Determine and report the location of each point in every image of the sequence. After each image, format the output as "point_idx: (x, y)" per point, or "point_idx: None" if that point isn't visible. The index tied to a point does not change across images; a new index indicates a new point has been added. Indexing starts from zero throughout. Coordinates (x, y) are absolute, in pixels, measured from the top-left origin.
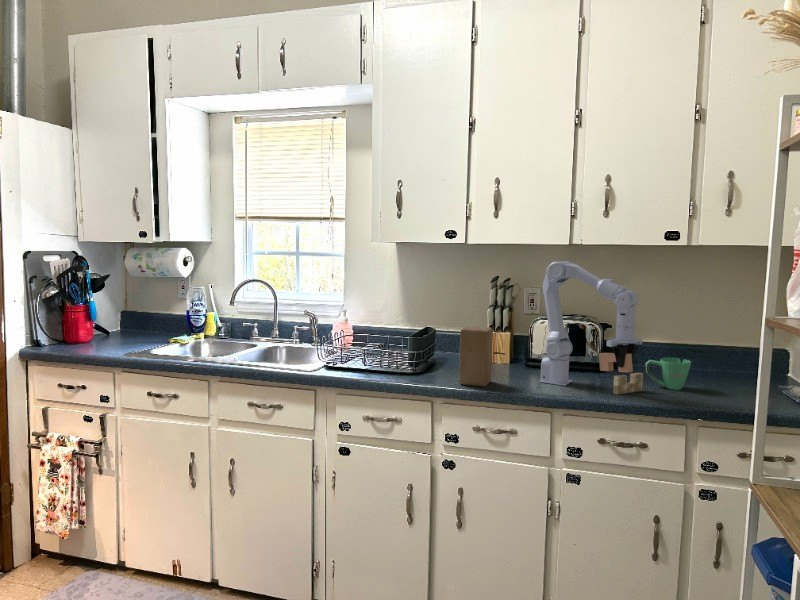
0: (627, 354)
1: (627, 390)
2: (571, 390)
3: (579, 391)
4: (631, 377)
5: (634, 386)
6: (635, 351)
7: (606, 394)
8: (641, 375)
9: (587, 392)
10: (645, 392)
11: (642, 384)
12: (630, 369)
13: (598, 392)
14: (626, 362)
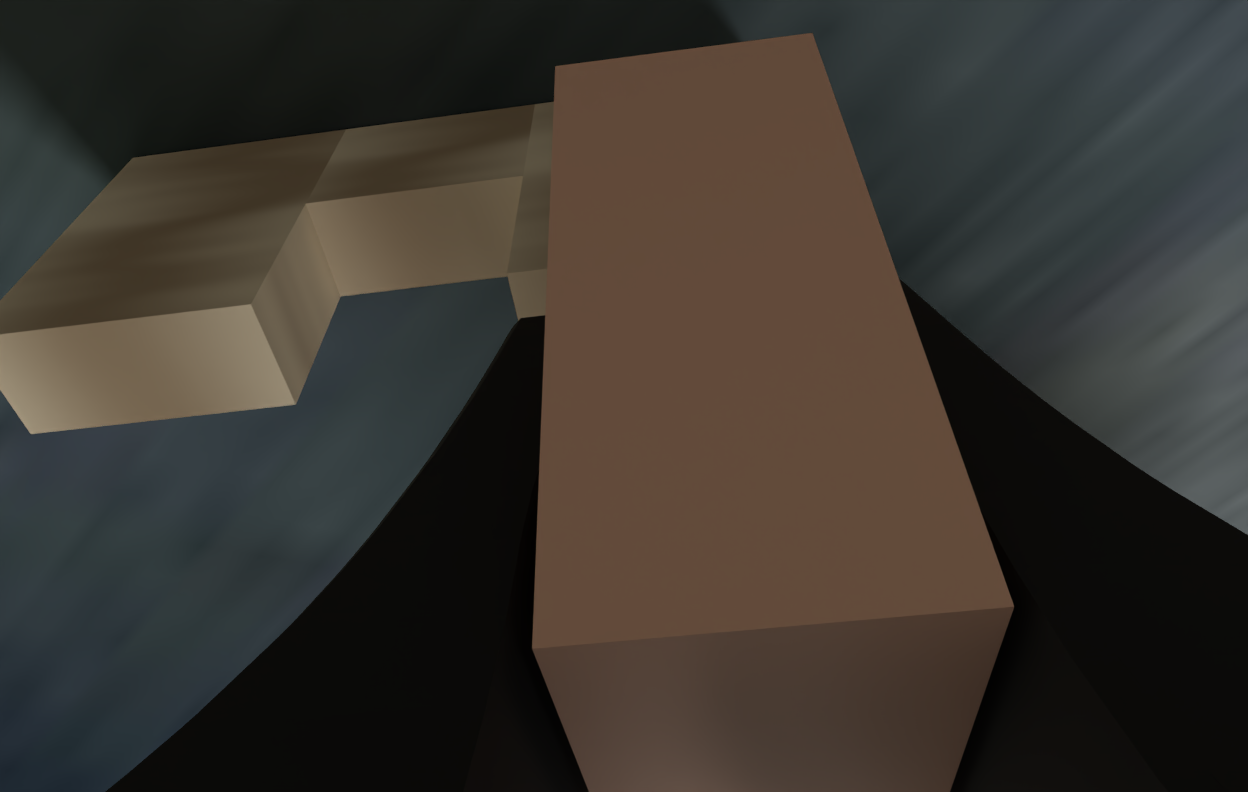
0: (904, 598)
1: (500, 126)
2: (1214, 440)
3: (1167, 376)
4: (301, 328)
5: (306, 176)
6: (160, 786)
7: (944, 128)
8: (34, 312)
9: (1115, 307)
10: (123, 46)
11: (83, 211)
12: (665, 100)
13: (956, 265)
14: (893, 275)
